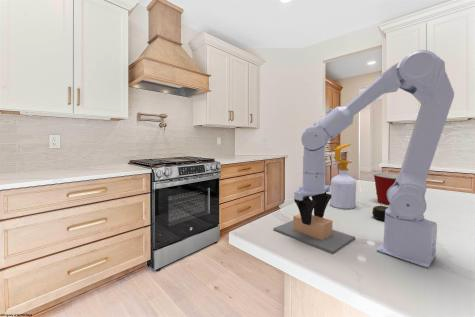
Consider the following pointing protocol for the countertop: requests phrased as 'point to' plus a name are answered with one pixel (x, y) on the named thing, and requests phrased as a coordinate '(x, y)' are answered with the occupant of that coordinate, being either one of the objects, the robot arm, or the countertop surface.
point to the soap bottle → (342, 185)
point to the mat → (328, 244)
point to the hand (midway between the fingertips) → (312, 221)
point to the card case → (314, 227)
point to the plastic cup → (383, 185)
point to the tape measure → (379, 212)
